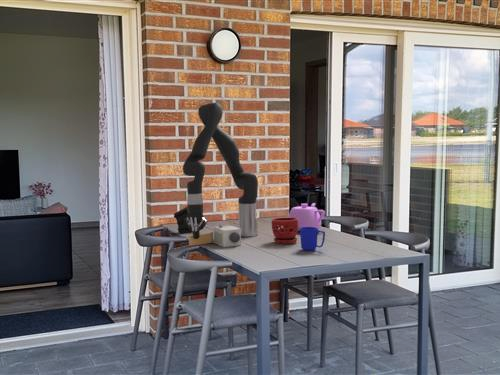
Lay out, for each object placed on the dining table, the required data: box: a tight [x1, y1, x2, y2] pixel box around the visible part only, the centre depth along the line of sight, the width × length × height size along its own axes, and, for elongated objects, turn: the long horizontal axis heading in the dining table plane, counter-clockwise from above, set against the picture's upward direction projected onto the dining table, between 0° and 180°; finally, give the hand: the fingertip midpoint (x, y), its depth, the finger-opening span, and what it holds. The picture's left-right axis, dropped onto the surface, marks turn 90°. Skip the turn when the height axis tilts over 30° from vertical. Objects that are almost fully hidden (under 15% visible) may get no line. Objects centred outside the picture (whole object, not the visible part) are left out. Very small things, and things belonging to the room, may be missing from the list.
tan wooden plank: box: [188, 231, 214, 247], centre depth 281 cm, size 2×14×5 cm, turn 130°
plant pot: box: [271, 216, 299, 245], centre depth 283 cm, size 13×13×12 cm
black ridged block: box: [173, 206, 193, 234], centre depth 315 cm, size 4×13×15 cm, turn 108°
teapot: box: [288, 202, 326, 232], centre depth 320 cm, size 23×21×15 cm
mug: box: [299, 227, 326, 252], centre depth 264 cm, size 8×12×10 cm
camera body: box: [213, 224, 242, 248], centre depth 280 cm, size 9×15×9 cm, turn 25°
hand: (196, 238), depth 276 cm, fingers closed
